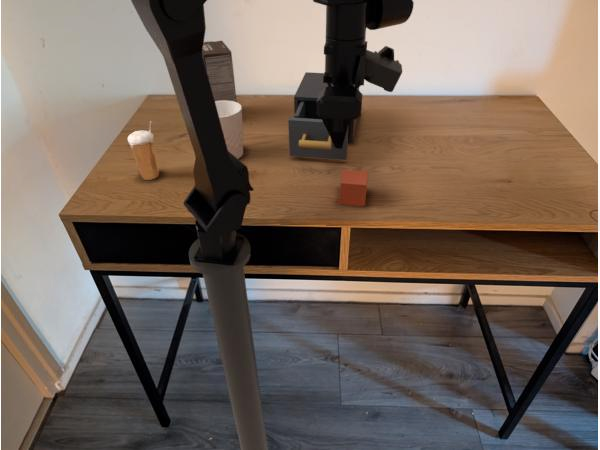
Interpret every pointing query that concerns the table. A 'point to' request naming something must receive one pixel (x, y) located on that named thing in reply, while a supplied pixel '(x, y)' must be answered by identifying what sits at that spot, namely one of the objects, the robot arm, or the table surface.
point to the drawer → (312, 135)
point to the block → (353, 187)
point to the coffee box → (220, 70)
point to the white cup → (231, 125)
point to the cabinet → (316, 95)
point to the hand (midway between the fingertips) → (340, 134)
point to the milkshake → (144, 153)
